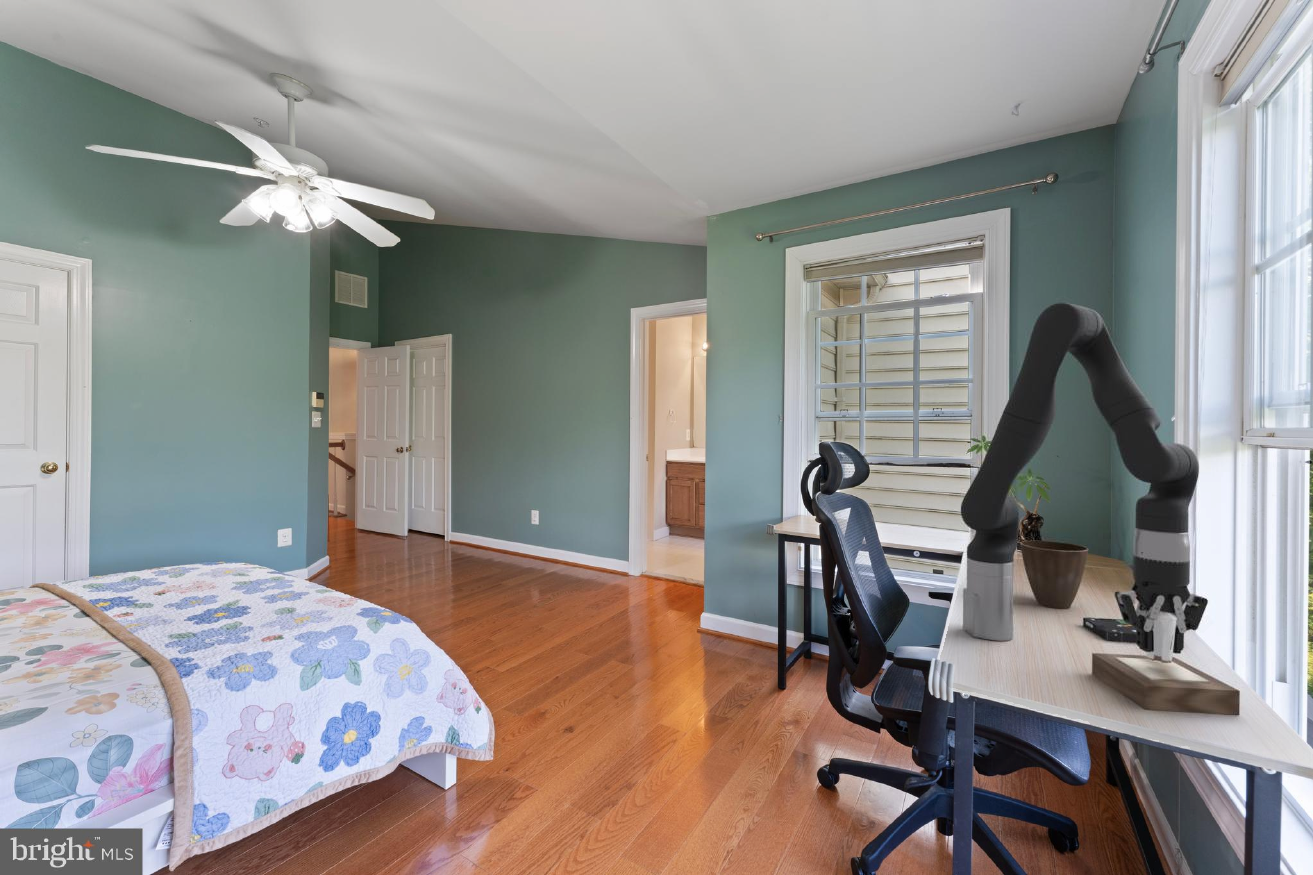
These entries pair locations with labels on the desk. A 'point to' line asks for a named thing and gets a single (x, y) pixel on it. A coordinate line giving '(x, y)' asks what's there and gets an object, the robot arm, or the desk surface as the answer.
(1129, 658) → the plinth
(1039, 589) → the plant pot
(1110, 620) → the disk drive
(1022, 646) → the desk surface
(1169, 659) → the milkshake
